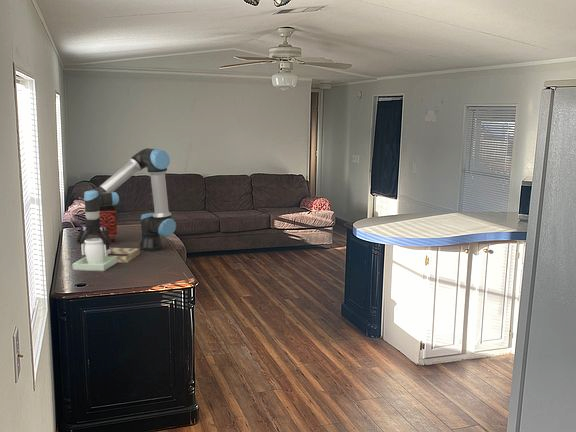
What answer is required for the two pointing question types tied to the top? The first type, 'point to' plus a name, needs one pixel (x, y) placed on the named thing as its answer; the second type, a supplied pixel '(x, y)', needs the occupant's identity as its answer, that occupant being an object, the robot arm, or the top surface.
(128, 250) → the bin
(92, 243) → the jar
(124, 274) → the top surface
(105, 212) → the vase
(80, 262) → the bin
